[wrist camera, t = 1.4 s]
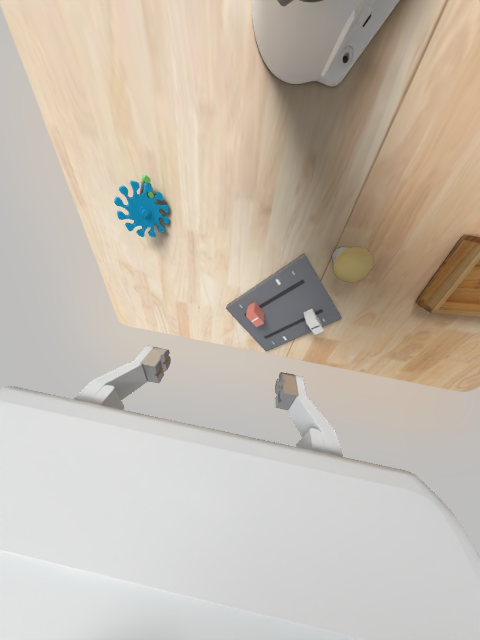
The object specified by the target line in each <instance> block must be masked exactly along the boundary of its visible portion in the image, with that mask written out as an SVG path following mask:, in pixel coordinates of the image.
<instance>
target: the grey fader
mask: <svg viewBox="0 0 480 640" xmlns="http://www.w3.org/2000/svg"><path fill="white" fill-rule="evenodd" d="M304 316H305V320H306V323H307V325H308V326H309V328H310V329H311V330H312V332H313V333H314V335H316V334H318V333H321V332H323V331H324V329H323V327H322V324H321V322H320V320H319V318H318V317H317V315H316V314H315V312H314V310H313V309H310V310H308V311H306V312H304Z"/></svg>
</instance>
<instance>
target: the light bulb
mask: <svg viewBox="0 0 480 640" xmlns="http://www.w3.org/2000/svg"><path fill="white" fill-rule="evenodd" d="M332 261H333V262H334V264H333V270H334V273H335V275H336V276H337V278H339V279H340V280H342V281H345V282H356V281H359V280H361V279H363V278H364V277H365V276H367V275H368V273H369V272H370V271H371V270H372V268H373V265H374V258H373V256H372V254H371V253H370V251H368V250H367V249H365V248H363V247H351V248H347V247H340V248H338V249H337V250H336V251H335V252H334V253H333V255H332Z"/></svg>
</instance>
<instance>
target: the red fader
mask: <svg viewBox="0 0 480 640" xmlns="http://www.w3.org/2000/svg"><path fill="white" fill-rule="evenodd" d="M246 316H247V318H248V319H249V320H250V321H251V322H252V323H253V324H254V325H255V327H258V326H260V325H262V324H264V312H263V311H262V309H261V308H260V307H259V306H258V305H257V303H256V302H254V303H252V304H250V305H249V306H248V308H247V313H246Z"/></svg>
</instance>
